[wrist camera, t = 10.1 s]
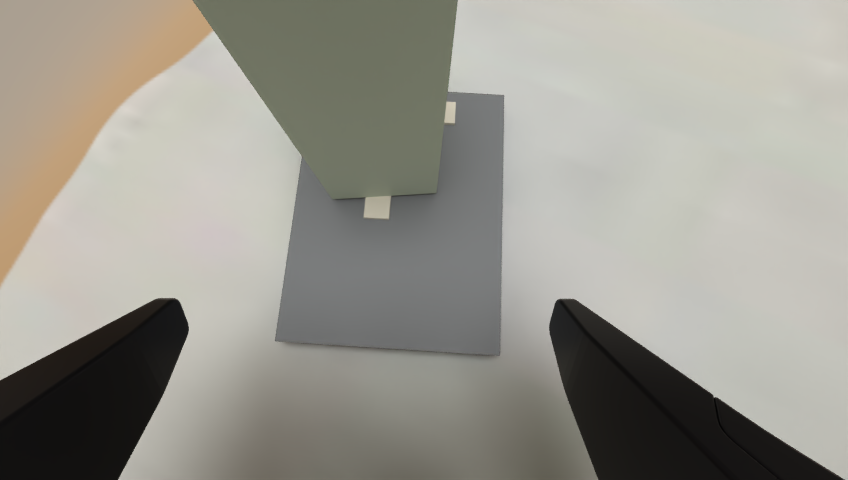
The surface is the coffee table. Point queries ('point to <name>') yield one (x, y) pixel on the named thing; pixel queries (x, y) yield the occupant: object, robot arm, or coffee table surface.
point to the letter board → (405, 251)
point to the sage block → (349, 84)
